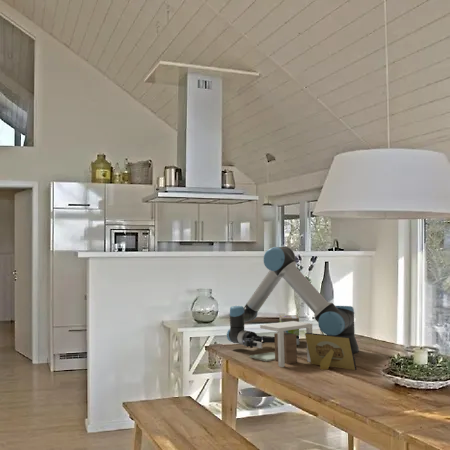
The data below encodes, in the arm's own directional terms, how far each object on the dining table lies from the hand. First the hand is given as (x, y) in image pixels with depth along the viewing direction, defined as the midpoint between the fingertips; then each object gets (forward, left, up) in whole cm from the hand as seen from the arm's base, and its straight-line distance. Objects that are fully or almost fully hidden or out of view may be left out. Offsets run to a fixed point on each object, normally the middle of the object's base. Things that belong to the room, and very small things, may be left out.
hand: (273, 343), depth 297 cm
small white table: (-10, +5, -7) cm, 13 cm away
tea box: (+9, -43, -7) cm, 45 cm away
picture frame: (-31, +12, -7) cm, 34 cm away
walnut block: (-8, +5, -7) cm, 12 cm away
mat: (+3, -2, -7) cm, 8 cm away
